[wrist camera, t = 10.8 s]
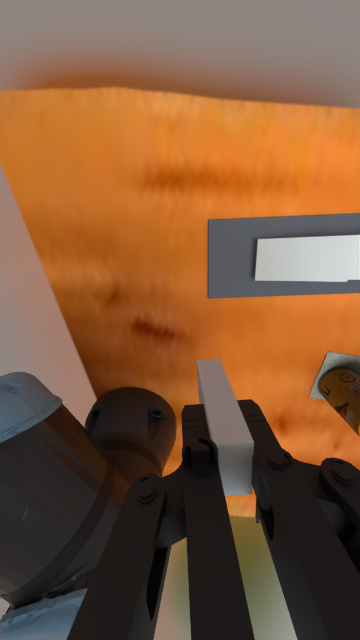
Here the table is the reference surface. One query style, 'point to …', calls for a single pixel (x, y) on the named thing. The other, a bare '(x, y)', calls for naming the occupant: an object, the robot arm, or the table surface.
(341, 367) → the condiment
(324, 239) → the domino
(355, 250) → the domino
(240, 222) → the mat
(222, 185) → the table surface
